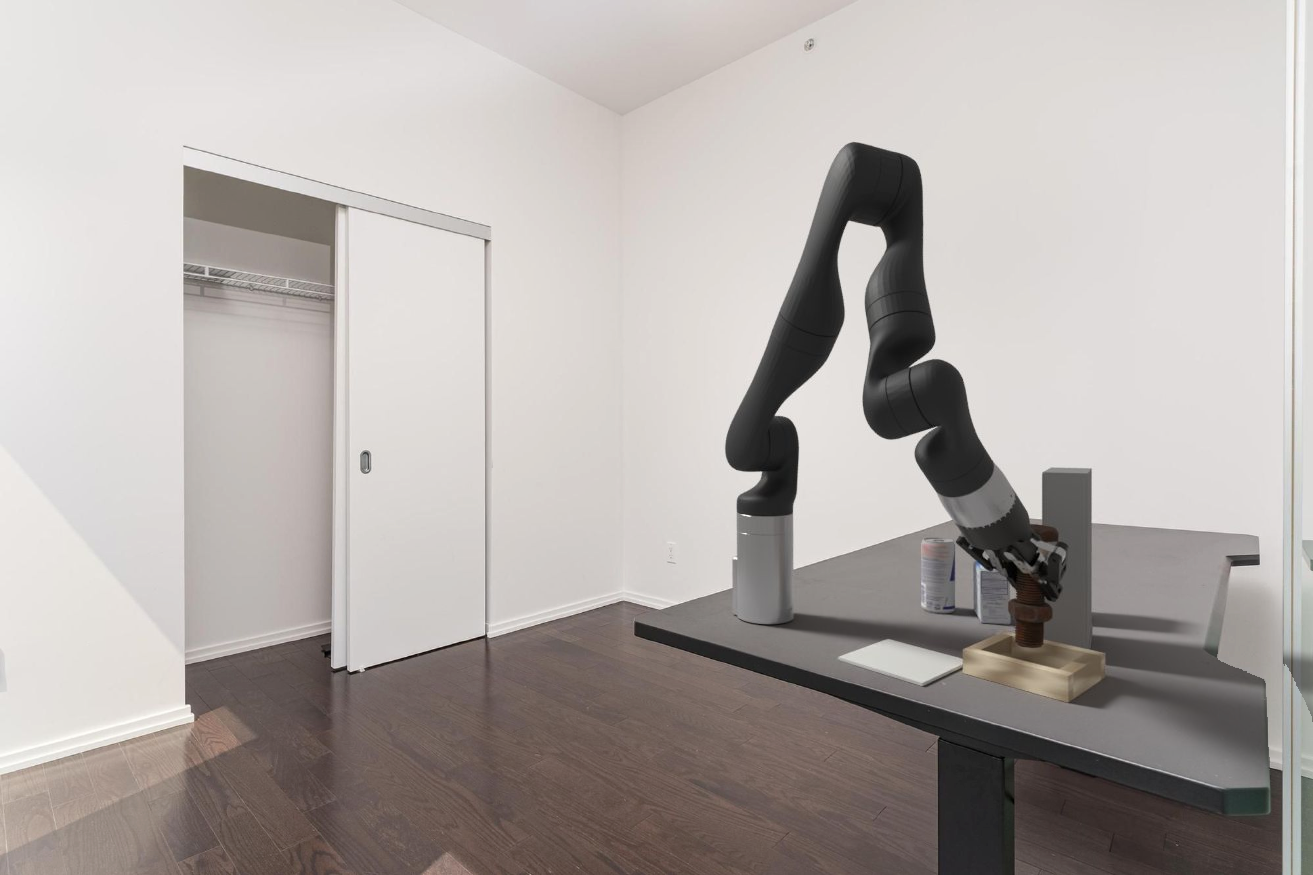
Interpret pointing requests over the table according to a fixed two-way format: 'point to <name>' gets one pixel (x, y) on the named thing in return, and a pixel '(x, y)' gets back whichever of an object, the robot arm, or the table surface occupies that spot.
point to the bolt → (1031, 601)
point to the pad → (904, 661)
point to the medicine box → (991, 595)
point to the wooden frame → (1035, 666)
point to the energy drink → (938, 575)
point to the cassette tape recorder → (1071, 553)
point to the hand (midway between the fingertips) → (1039, 591)
